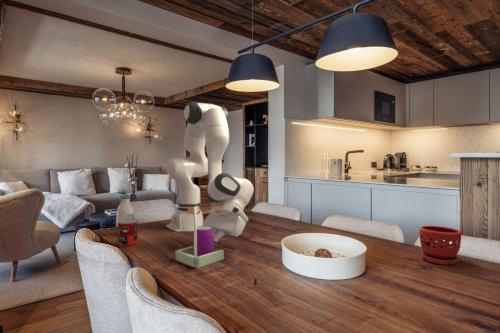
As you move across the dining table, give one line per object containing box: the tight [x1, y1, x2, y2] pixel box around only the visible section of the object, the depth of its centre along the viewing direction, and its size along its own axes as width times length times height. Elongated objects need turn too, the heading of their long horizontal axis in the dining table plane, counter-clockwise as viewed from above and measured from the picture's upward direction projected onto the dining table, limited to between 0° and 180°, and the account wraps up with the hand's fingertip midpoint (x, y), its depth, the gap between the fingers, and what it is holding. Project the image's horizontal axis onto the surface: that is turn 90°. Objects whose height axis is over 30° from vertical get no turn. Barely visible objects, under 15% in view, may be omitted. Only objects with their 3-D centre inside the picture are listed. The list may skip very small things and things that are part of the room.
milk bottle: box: [117, 194, 135, 222], centre depth 156 cm, size 8×8×20 cm
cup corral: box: [174, 207, 225, 269], centre depth 117 cm, size 13×13×22 cm
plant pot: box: [419, 225, 462, 265], centre depth 113 cm, size 13×13×12 cm
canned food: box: [117, 218, 138, 248], centre depth 137 cm, size 8×8×11 cm
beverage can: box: [192, 226, 215, 257], centre depth 118 cm, size 8×8×12 cm
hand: (212, 240), depth 121 cm, fingers closed, pressing on beverage can
